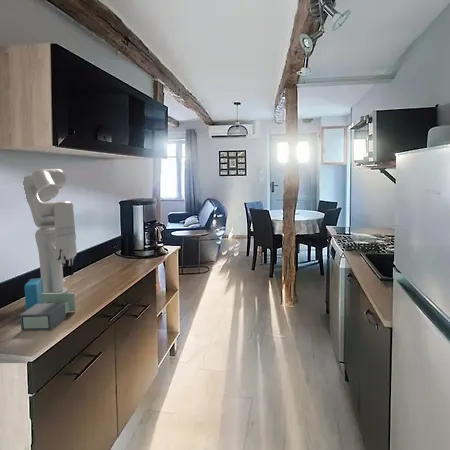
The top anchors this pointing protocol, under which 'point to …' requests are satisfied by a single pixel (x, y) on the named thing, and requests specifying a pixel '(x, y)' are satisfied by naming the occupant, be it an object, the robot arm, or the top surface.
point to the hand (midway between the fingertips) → (69, 275)
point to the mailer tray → (50, 298)
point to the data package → (33, 292)
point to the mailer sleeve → (45, 314)
